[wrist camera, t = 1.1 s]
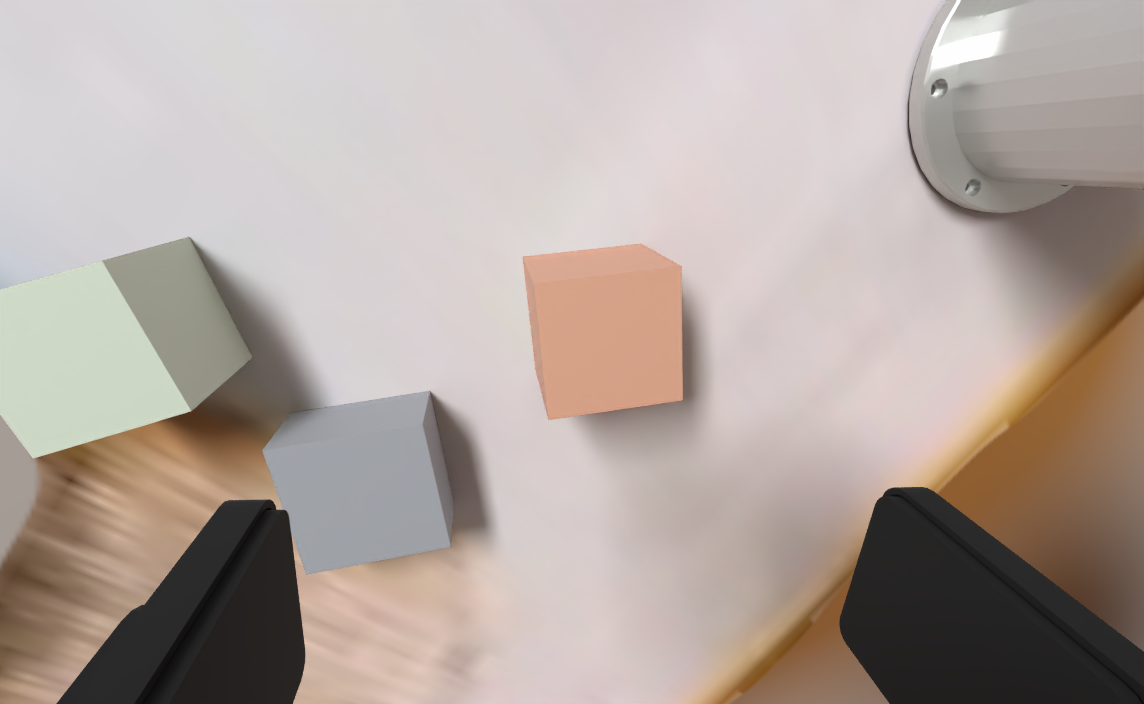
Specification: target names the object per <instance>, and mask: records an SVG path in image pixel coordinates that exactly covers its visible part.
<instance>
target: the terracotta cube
mask: <svg viewBox="0 0 1144 704" xmlns="http://www.w3.org/2000/svg"><path fill="white" fill-rule="evenodd" d="M523 264H524V273H525V282H526V290H527V299H528V308H529V317H530V326H531V334H532V343H533V352H534V361H535V369H536V373H537V377H538V381H539V385H540V389H541V393H542V397H543V401H544V405H545V409H546V412H547V416H548V420H552V419H559V418H566V417H573V416H580V415H586V414H593V413H600V412H607V411H614V410H620V409H627V408H634V407H641V406H648V405H654V404H661V403H668V402H675V401H682V400H683V369H682V266H680V265H678V264H677V263H675V262H673V261H671V260H669V259H668V258H666V257H664V256H662V255H660V254H659V253H657V252H655V251H653V250H651V249H650V248H648V247H646V246H644V245H642V244H634V245H625V246H616V247H607V248H598V249H589V250H580V251H571V252H562V253H553V254H543V255H534V256H525V257H523Z"/></svg>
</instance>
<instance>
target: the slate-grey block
mask: <svg viewBox="0 0 1144 704" xmlns="http://www.w3.org/2000/svg"><path fill="white" fill-rule="evenodd" d="M262 452H263V454H264V457H265V460H266V463H267V466H268V468H269V471H270V474H271V477H272V480H273V482H274V485H275V488H276V491H277V494H278V496H279V499H280V502H281V505H282V508H283V510H286V511H287V512H288V514H289V519H290V528H291V533H292V536H293V539H294V541H295V544H296V547H297V550H298V553H299V555H300V558H301V561H302V564H303V567H304V570H305V572H306V575H308V574H313V573H318V572H323V571H328V570H334V569H339V568H344V567H349V566H355V565H360V564H365V563H370V562H376V561H381V560H386V559H391V558H396V557H402V556H407V555H412V554H417V553H423V552H428V551H433V550H438V549H444V548H449V547H451V538H452V525H453V512H454V499H453V495H452V490H451V486H450V481H449V476H448V472H447V467H446V463H445V458H444V454H443V449H442V444H441V440H440V435H439V431H438V426H437V422H436V417H435V412H434V408H433V403H432V399H431V394H430V391H426V392H420V393H413V394H407V395H401V396H394V397H388V398H382V399H375V400H369V401H363V402H357V403H350V404H344V405H338V406H331V407H325V408H319V409H312V410H306V411H300V412H293V413H290V414H289V415H288V417H287V418H286V419H285V421H284V422H283V423H282V425H281V426H280V427H279V429H278V430H277V431H276V433H275V434H274V435H273V437H272V438H271V440H270V441H269V442H268V444H267V445H266V446H265V448H264V449H263V450H262Z"/></svg>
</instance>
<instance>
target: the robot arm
mask: <svg viewBox="0 0 1144 704" xmlns="http://www.w3.org/2000/svg"><path fill="white" fill-rule="evenodd" d="M909 127H910V132H911V138H912V144H913V149H914V152H915V154H916V157H917V160H918V162H919V165H920V168H921V170H922V171H923V173H924V174H925V176H926V177H927V179H928V180H929V182H930V183H931V185H932V186H933V187H934V188H935V189H936V190H937V191H938V192H940V193H941V194H942V195H943V196H944V197H945V198H946V199H948V200H950V201H952V202H954V203H956V204H957V205H959V206H961V207H964V208H968V209H972V210H977V211H982V212H995V213H1010V212H1019V211H1025V210H1028V209H1031V208H1034V207H1037V206H1041V205H1044V204H1045V203H1047V202H1049V201H1051V200H1053V199H1055V198H1057V197H1059V196H1061V195H1063V194H1064V193H1066V192H1067V191H1068V190H1070V189H1071V188H1072V187H1074V186H1075V185H1076V186H1096V187H1116V188H1136V189H1144V0H947V1H946V3H945V4H944V6H943V7H942V9H941V10H940V12H939V13H938V15H937V16H936V18H935V20H934V22H933V24H932V26H931V28H930V30H929V32H928V34H927V36H926V38H925V40H924V42H923V45H922V48H921V51H920V54H919V57H918V60H917V64H916V67H915V70H914V74H913V80H912V86H911V92H910V98H909ZM840 630H841V634H842V636H843V639H844V641H845V642H846V644H847V645H848V647H849V648H850V650H851V651H852V652H853V654H854V655H855V656H856V658H857V659H858V660H859V662H860V663H861V665H862V666H863V667H864V669H865V670H866V672H867V673H868V674H869V676H870V677H871V678H872V680H873V681H874V683H875V684H876V685H877V687H878V688H879V689H880V691H881V692H882V694H883V695H884V696H885V698H886V699H887V701H888V702H889V703H890V704H1144V652H1143V651H1142V650H1141V649H1139V648H1138V647H1137V646H1135V645H1134V644H1133V643H1131V642H1130V641H1129V640H1128V639H1126V638H1125V637H1124V636H1122V635H1121V634H1120V633H1118V632H1117V631H1116V630H1115V629H1113V628H1112V627H1111V626H1109V625H1108V624H1107V623H1105V622H1104V621H1103V620H1101V619H1100V618H1099V617H1097V616H1096V615H1095V614H1094V613H1092V612H1091V611H1090V610H1088V609H1087V608H1086V607H1084V606H1083V605H1082V604H1080V603H1079V602H1078V601H1077V600H1075V599H1074V598H1073V597H1071V596H1070V595H1069V594H1067V593H1066V592H1065V591H1063V590H1062V589H1061V588H1060V587H1058V586H1056V585H1055V584H1054V583H1053V582H1052V581H1050V580H1049V579H1048V578H1046V577H1045V576H1044V575H1043V574H1041V573H1040V572H1038V571H1037V570H1036V569H1035V568H1033V567H1032V566H1031V565H1029V564H1028V563H1027V562H1025V561H1024V560H1023V559H1022V558H1020V557H1019V556H1018V555H1016V554H1015V553H1014V552H1012V551H1011V550H1010V549H1008V548H1007V547H1006V546H1005V545H1003V544H1002V543H1001V542H999V541H998V540H997V539H995V538H994V537H993V536H991V535H990V534H989V533H987V532H986V531H985V530H984V529H982V528H981V527H980V526H978V525H977V524H976V523H974V522H973V521H972V520H970V519H969V518H968V517H967V516H965V515H964V514H962V513H961V512H960V511H959V510H957V509H956V508H955V507H953V506H952V505H951V504H950V503H948V502H947V501H946V500H944V499H943V498H942V497H940V496H939V495H938V494H936V493H935V492H934V491H932V490H930V489H928V488H924V487H901V488H891V489H888V490H887V491H886V492H885V493H884V495H883V497H881V498H879V499H878V500H877V502H876V504H875V507H874V510H873V513H872V517H871V520H870V523H869V526H868V529H867V533H866V536H865V539H864V542H863V546H862V549H861V552H860V555H859V558H858V562H857V565H856V568H855V571H854V574H853V578H852V581H851V584H850V587H849V591H848V594H847V597H846V600H845V603H844V607H843V610H842V613H841V616H840ZM304 664H305V645H304V636H303V628H302V620H301V611H300V603H299V595H298V586H297V578H296V569H295V561H294V553H293V544H292V536H291V528H290V519H289V514H288V512H287V511H286V510H276V506H275V504H274V502H273V501H272V500H229V501H225V502H224V503H223V504H222V505H221V506H220V507H219V508H218V509H217V511H216V512H215V513H214V515H213V516H212V517H211V518H210V520H209V521H208V522H207V524H206V525H205V526H204V528H203V529H202V530H201V532H200V533H199V534H198V536H197V537H196V538H195V539H194V541H193V542H192V543H191V545H190V546H189V547H188V549H187V550H186V551H185V553H184V554H183V555H182V556H181V558H180V559H179V560H178V562H177V563H176V564H175V566H174V567H173V568H172V570H171V571H170V572H169V574H168V575H167V576H166V577H165V579H164V580H163V581H162V583H161V584H160V585H159V587H158V588H157V589H156V591H155V592H154V593H153V594H152V596H151V597H150V598H149V600H148V601H147V602H146V604H145V605H141V606H139V607H137V608H136V609H134V610H132V611H131V612H130V613H129V614H128V615H127V616H126V617H125V618H124V619H123V620H122V621H121V622H120V624H119V625H118V626H117V627H116V629H115V630H114V631H113V632H112V634H111V635H110V636H109V638H108V639H107V640H106V641H105V643H104V644H103V645H102V646H101V648H100V649H99V650H98V652H97V653H96V654H95V655H94V657H93V658H92V659H91V660H90V662H89V663H88V664H87V666H86V667H85V668H84V669H83V671H82V672H81V673H80V674H79V676H78V677H77V678H76V680H75V681H74V682H73V683H72V685H71V686H70V687H69V688H68V690H67V691H66V692H65V693H64V695H63V696H62V697H61V699H60V700H59V701H58V702H57V704H293V701H294V699H295V696H296V693H297V690H298V687H299V685H300V682H301V678H302V675H303V670H304Z"/></svg>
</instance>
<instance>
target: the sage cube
mask: <svg viewBox="0 0 1144 704" xmlns="http://www.w3.org/2000/svg"><path fill="white" fill-rule="evenodd" d="M252 358H253V357H252V355H251V353H250V352H249V350H248V348H247V346H246V344H245V342H244V340H243V338H242V336H241V334H240V333H239V331H238V329H237V327H236V325H235V323H234V321H233V319H232V317H231V315H230V313H229V312H228V310H227V308H226V306H225V304H224V302H223V300H222V298H221V296H220V294H219V293H218V291H217V289H216V287H215V285H214V283H213V281H212V279H211V277H210V275H209V273H208V272H207V270H206V268H205V266H204V264H203V262H202V260H201V258H200V256H199V254H198V253H197V251H196V249H195V247H194V245H193V243H192V241H191V239H190V237H187V238H183V239H180V240H176V241H173V242H169V243H165V244H162V245H158V246H154V247H151V248H147V249H143V250H140V251H136V252H132V253H129V254H125V255H122V256H118V257H114V258H111V259H107V260H103V261H100V262H96V263H93V264H89V265H85V266H82V267H78V268H75V269H71V270H68V271H64V272H61V273H57V274H53V275H50V276H46V277H43V278H39V279H36V280H32V281H29V282H25V283H21V284H18V285H14V286H11V287H7V288H4V289H0V415H1V416H2V417H3V419H4V420H5V422H6V423H7V424H8V426H9V427H10V428H11V429H12V431H13V432H14V434H15V435H16V436H17V438H18V439H19V440H20V442H21V443H22V444H23V446H24V447H25V448H26V450H27V451H28V452H29V454H30V455H31V456H32V458H36V457H39V456H43V455H46V454H50V453H53V452H56V451H60V450H63V449H66V448H70V447H73V446H76V445H80V444H83V443H86V442H90V441H93V440H97V439H100V438H103V437H107V436H110V435H113V434H117V433H120V432H123V431H127V430H130V429H133V428H137V427H140V426H143V425H147V424H150V423H154V422H157V421H160V420H164V419H167V418H170V417H174V416H177V415H180V414H184V413H187V412H190V411H192V410H193V409H194V408H196V407H197V406H198V405H199V404H200V403H201V402H202V401H204V400H205V399H206V398H207V397H208V396H209V395H210V394H212V393H213V392H214V391H215V390H216V389H217V388H218V387H220V386H221V385H222V384H223V383H224V382H225V381H226V380H228V379H229V378H230V377H231V376H232V375H233V374H234V373H236V372H237V371H238V370H239V369H240V368H241V367H242V366H244V365H245V364H246V363H247V362H248V361H249V360H250V359H252Z"/></svg>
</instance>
